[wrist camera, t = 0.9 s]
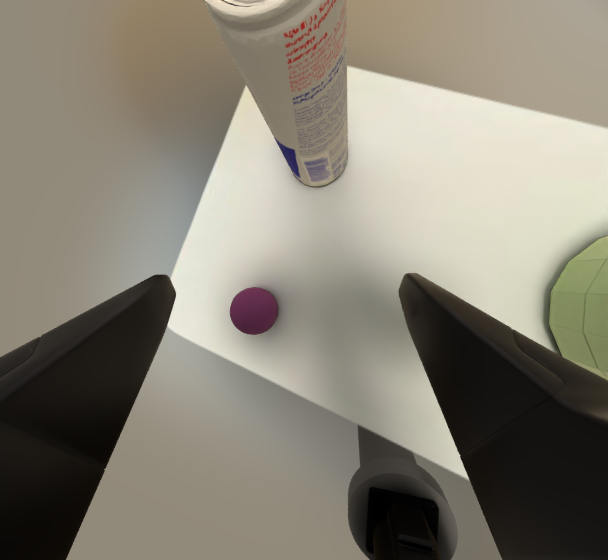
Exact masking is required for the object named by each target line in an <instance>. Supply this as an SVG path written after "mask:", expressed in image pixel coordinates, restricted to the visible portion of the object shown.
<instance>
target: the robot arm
mask: <svg viewBox="0 0 608 560" xmlns="http://www.w3.org/2000/svg"><path fill="white" fill-rule="evenodd" d="M175 298H176V292H175V289H174V287H173V285H172V282H171V280H170V278H169V277H168V276H167V275H154V276H152V277H150V278H148V279H146V280H144V281H142V282H140V283H139V284H137V285H135V286H133V287H131V288H129V289H127V290H126V291H124V292H122V293H120V294H118V295H116V296H114V297H112V298H111V299H109V300H107V301H105V302H103V303H101V304H100V305H97V306H96V307H94V308H92V309H90V310H88V311H86V312H84V313H83V314H81V315H79V316H77V317H75V318H74V319H71V320H69V321H68V322H66V323H64V324H62V325H60V326H58V327H57V328H55V329H53V330H51V331H49V332H47V333H45V334H43V335H42V336H41V337H38V338H36V339H34V340H32V341H30V342H29V343H26V344H25V345H23V346H21V347H19V348H17V349H15V350H13V351H11V352H9V353H8V354H6V355H4V356H2V357H0V560H66V558H67V556H68V554H69V551H70V549H71V547H72V544H73V542H74V540H75V538H76V535H77V533H78V531H79V528H80V526H81V524H82V521H83V519H84V517H85V515H86V512H87V510H88V508H89V506H90V503H91V501H92V499H93V496H94V494H95V492H96V490H97V487H98V485H99V483H100V480H101V478H102V476H103V474H104V471H105V470H104V469H105V468H106V466H107V464H108V462H109V459H110V457H111V455H112V452H113V450H114V448H115V446H116V443H117V441H118V439H119V436H120V434H121V432H122V430H123V427H124V425H125V423H126V420H127V418H128V416H129V414H130V411H131V409H132V407H133V404H134V402H135V399H136V397H137V395H138V393H139V390H140V388H141V386H142V384H143V382H144V379H145V377H146V374H147V372H148V370H149V367H150V366H151V363H152V361H153V359H154V356H155V354H156V352H157V349H158V347H159V345H160V343H161V340H162V338H163V336H164V333H165V330H166V327H167V324H168V321H169V318H170V314H171V311H172V308H173V304H174V301H175ZM399 298H400V301H401V305H402V309H403V312H404V316H405V319H406V323H407V326H408V329H409V332H410V334H411V337H412V339H413V342H414V344H415V347H416V349H417V352H418V354H419V357H420V359H421V361H422V364H423V366H424V369H425V371H426V374H427V376H428V379H429V381H430V384H431V386H432V388H433V391H434V393H435V396H436V398H437V401H438V403H439V406H440V408H441V410H442V413H443V415H444V418H445V420H446V423H447V425H448V428H449V430H450V433H451V435H452V437H453V440H454V442H455V445H456V447H457V450H458V452H459V454H460V455H461V456H460V458H461V460H462V462H463V465H464V467H465V470H466V472H467V475H468V477H469V480H470V482H471V485H472V487H473V489H474V492H475V494H476V497H477V499H478V502H479V504H480V507H481V509H482V511H483V514H484V516H485V519H486V521H487V524H488V526H489V529H490V531H491V533H492V536H493V538H494V541H495V543H496V545H497V548H498V551H499V553H500V555H501V557H502V559H503V560H608V380H606V379H604V378H602V377H600V376H598V375H597V374H595V373H593V372H591V371H589V370H587V369H585V368H583V367H581V366H579V365H577V364H575V363H574V362H572V361H570V360H568V359H566V358H564V357H562V356H560V355H558V354H557V353H555V352H553V351H551V350H549V349H547V348H545V347H544V346H542V345H540V344H538V343H536V342H535V341H533V340H531V339H529V338H528V337H526V336H524V335H522V334H521V333H519V332H517V331H516V330H512V329H511V328H510V327H509V326H507V325H505V324H503V323H502V322H500V321H498V320H496V319H495V318H493V317H491V316H490V315H488V314H486V313H484V312H483V311H481V310H479V309H477V308H476V307H474V306H472V305H471V304H469V303H467V302H465V301H464V300H462V299H460V298H459V297H457V296H455V295H453V294H452V293H450V292H448V291H446V290H445V289H443V288H441V287H440V286H438V285H436V284H434V283H433V282H431V281H429V280H427V279H426V278H424V277H422V276H421V275H419V274H417V273H407V274H405V275H404V277H403V280H402V282H401V285H400V288H399ZM372 493H376V494H372ZM432 506H434V507H433V508H432ZM438 521H439V507H438V505H437V503H436V502H435V501H434V500H430V499H426V498H421V497H417V496H412V495H408V494H403V493H399V492H394V491H390V490H385V489H381V488H376V487H370V488H369V493H368V510H367V527H366V550H367V551H368V552H369V553H371V554H374V557H375V560H442V557H441V554H440V551H439V548H438V545H437V536H438ZM370 546H372V547H370Z"/></svg>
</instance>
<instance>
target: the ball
mask: <svg viewBox="0 0 608 560" xmlns="http://www.w3.org/2000/svg"><path fill="white" fill-rule="evenodd" d="M277 315H278V306H277V302H276V300H275V298H274V297H273V295H272V294H271V293H269V292H268V291H266V290H264V289H262V288H257V287H252V288H247V289H245V290H243V291H241V292H240V293H238V294H237V295H236V296H235V298H234V299H233V301H232V303H231V307H230V317H231V320H232V322H233V324H234V325H235V327H236V328H237V329H238V330H240V331H241V332H243V333H246V334H250V335H256V334H261V333H263V332H265V331H267V330H268V329H270V328H271V327H272V326H273V324H274V323H275V321H276V318H277Z"/></svg>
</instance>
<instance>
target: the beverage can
mask: <svg viewBox="0 0 608 560" xmlns="http://www.w3.org/2000/svg"><path fill="white" fill-rule="evenodd" d="M203 1H204V2H205V4H206V6H207V8H208V11H209V13H210V16H211V18H212V20H213V22H214V24H215V26H216V28H217V29H218V32H219V33H220V35H221V37H222V39H223V41H224V43H225V45H226V47H227V48H228V50H229V52H230V54H231V56H232V58H233V60H234V62H235V64H236V66H237V68H238V70H239V71H240V73H241V75H242V77H243V79H244V81H245V83H246V85H247V87H248V89H249V90H250V92H251V94H252V96H253V98H254V100H255V102H256V104H257V106H258V108H259V109H260V111H261V113H262V115H263V117H264V119H265V121H266V123H267V125H268V127H269V128H270V130H271V132H272V134H273V136H274V138H275V140H276V142H277V144H278V146H279V147H280V149H281V151H282V153H283V155H284V157H285V159H286V161H287V163H288V165H289V166H290V168H291V170H292V172H293V174H294V175H295V177H296V178H297V179H298V180H299V181H300V182H302V183H304V184H306V185H309V186H322V185H326V184H328V183H330V182H332V181H333V180H335V179H336V178H337V177H338V176H339V175H340V174H341V172H342V171H343V169H344V167H345V165H346V162H347V158H348V140H347V43H346V41H347V36H346V35H347V31H346V0H203Z"/></svg>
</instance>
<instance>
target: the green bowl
mask: <svg viewBox="0 0 608 560" xmlns="http://www.w3.org/2000/svg"><path fill="white" fill-rule="evenodd" d="M549 326H550V328H551V331H552V333H553V335H554V338H555V340H556V343H557V345H558V348H559V350H560V353H561V355H562V357H564V358H566V359H568V360H570V361H572V362H574V363H575V364H577V365H579V366H581V367H583V368H585V369H587V370H589V371H591V372H593V373H595V374H597V375H598V376H600V377H602V378H604V379H606V380H608V236H606V237H603V238H600V239H598V240H597V241H595V242H594V243H593V244H591V245H590V246H589V247H587V248H586V249H585V250H583V251H582V252H581V253H579V254H578V255H577V256H575V257H574V258H573V259H571V260H570V261H569V262H568V263H567V265H566V267H565V268H564V270H563V272H562V274H561V275H560V277H559V279H558V280H557V282H556V284H555V286H554V287H553V289H552V291H551V301H550V315H549Z"/></svg>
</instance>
